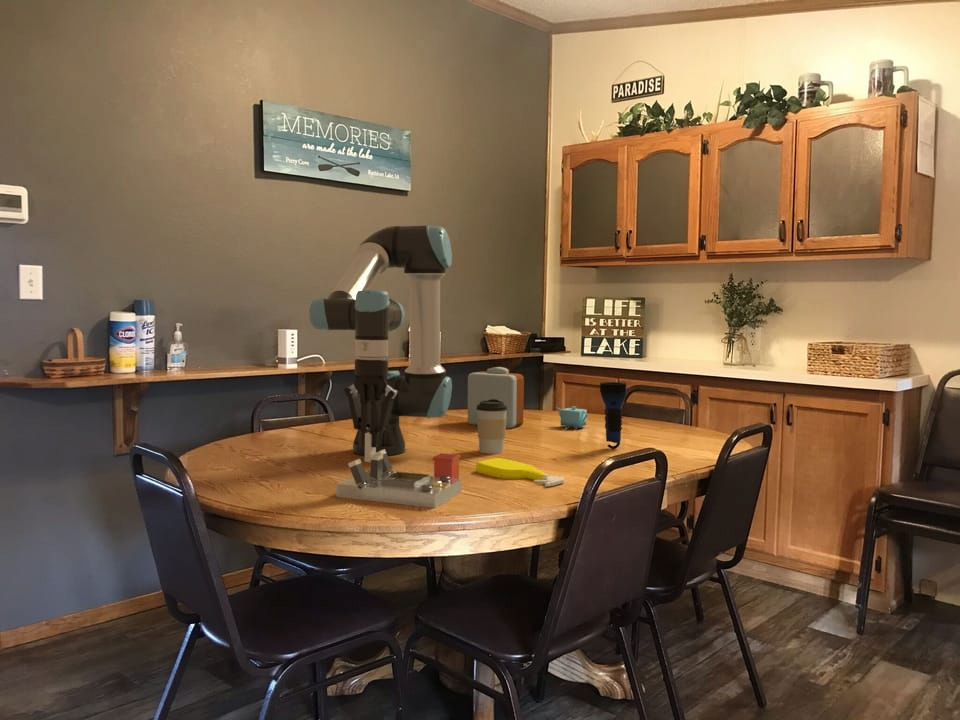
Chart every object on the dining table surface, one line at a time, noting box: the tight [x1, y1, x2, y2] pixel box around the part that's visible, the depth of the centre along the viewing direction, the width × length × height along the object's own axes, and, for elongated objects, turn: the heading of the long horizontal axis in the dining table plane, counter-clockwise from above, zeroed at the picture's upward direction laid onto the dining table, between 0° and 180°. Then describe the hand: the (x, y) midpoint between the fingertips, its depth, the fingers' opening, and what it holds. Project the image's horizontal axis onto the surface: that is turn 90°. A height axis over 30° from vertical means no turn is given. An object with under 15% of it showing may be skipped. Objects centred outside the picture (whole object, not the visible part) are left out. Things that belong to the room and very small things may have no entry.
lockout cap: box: [432, 452, 461, 479], centre depth 187 cm, size 5×5×7 cm
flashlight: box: [599, 381, 627, 450], centre depth 234 cm, size 8×8×20 cm
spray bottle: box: [475, 457, 565, 488], centre depth 196 cm, size 3×11×24 cm
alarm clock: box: [467, 366, 525, 429], centre depth 276 cm, size 18×9×21 cm, turn 58°
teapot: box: [556, 406, 588, 430], centre depth 273 cm, size 12×6×8 cm, turn 60°
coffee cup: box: [477, 399, 507, 455], centre depth 228 cm, size 9×9×15 cm
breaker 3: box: [376, 449, 393, 473], centre depth 185 cm, size 2×2×5 cm
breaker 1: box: [347, 458, 368, 484], centre depth 174 cm, size 2×2×5 cm
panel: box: [335, 469, 462, 509], centre depth 177 cm, size 24×15×4 cm, turn 69°
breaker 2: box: [370, 453, 383, 478], centre depth 179 cm, size 2×2×5 cm
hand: (370, 460), depth 179 cm, fingers closed
